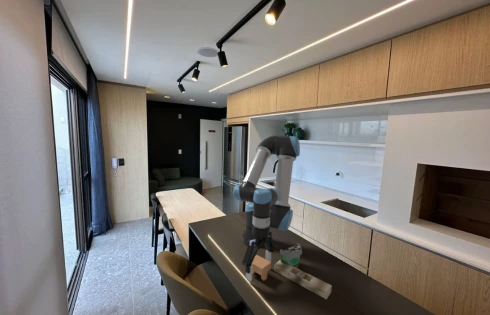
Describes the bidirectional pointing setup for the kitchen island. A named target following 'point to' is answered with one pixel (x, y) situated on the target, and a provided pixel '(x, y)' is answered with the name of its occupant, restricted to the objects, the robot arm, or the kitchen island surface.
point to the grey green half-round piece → (291, 255)
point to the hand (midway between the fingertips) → (258, 271)
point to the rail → (303, 279)
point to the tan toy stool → (261, 266)
